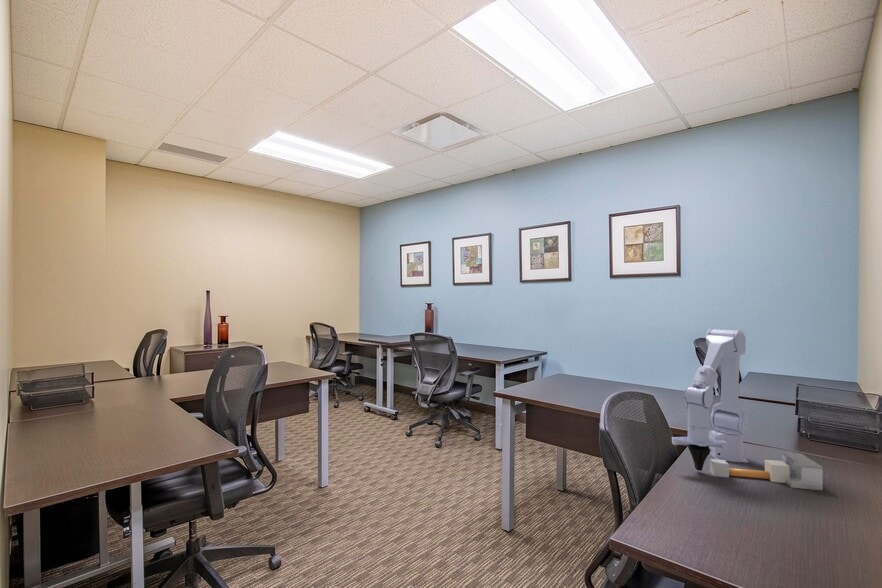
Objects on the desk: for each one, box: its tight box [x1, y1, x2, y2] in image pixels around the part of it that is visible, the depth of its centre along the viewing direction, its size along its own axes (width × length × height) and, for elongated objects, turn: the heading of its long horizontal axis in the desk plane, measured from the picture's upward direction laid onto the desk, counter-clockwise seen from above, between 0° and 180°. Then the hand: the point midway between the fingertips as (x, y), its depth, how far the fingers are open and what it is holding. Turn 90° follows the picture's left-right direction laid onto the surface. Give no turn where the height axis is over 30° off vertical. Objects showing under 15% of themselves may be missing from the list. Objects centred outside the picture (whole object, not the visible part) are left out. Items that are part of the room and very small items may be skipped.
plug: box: [709, 458, 790, 484], centre depth 126 cm, size 20×4×5 cm, turn 76°
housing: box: [781, 451, 824, 491], centre depth 123 cm, size 8×10×7 cm
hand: (698, 469), depth 129 cm, fingers closed
